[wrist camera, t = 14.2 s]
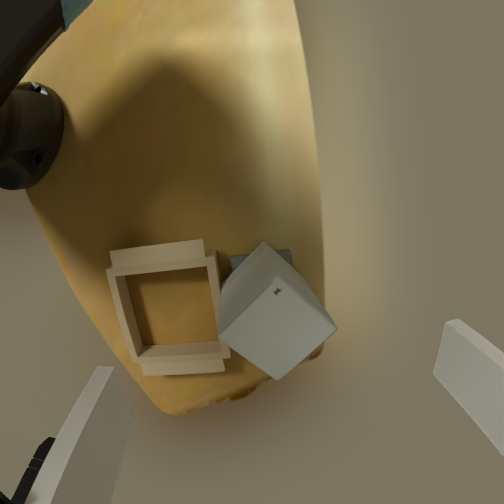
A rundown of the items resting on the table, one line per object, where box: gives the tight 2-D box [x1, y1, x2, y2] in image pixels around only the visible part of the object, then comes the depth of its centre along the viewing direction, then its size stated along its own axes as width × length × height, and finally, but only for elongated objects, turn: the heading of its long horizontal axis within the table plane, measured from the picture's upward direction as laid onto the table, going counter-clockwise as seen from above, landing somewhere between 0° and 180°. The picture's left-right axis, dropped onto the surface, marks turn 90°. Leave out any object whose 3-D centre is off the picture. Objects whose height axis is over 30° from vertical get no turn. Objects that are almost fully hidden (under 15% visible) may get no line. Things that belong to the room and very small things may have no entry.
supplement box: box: [217, 241, 337, 381], centre depth 29 cm, size 7×7×13 cm
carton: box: [106, 239, 231, 376], centre depth 34 cm, size 13×17×3 cm
